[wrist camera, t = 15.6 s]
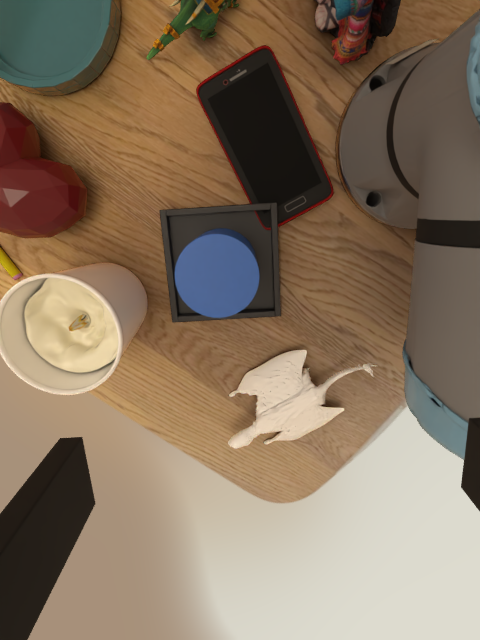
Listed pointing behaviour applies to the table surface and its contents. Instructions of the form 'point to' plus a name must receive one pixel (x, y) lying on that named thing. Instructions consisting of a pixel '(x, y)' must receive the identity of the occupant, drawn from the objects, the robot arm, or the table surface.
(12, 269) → the pencil
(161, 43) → the figurine
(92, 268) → the candle holder
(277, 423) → the winged dragon toy
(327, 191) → the cell phone
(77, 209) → the heart
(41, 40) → the bowl
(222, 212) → the tray
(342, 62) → the figurine
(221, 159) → the table surface
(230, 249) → the blue pillar candle
